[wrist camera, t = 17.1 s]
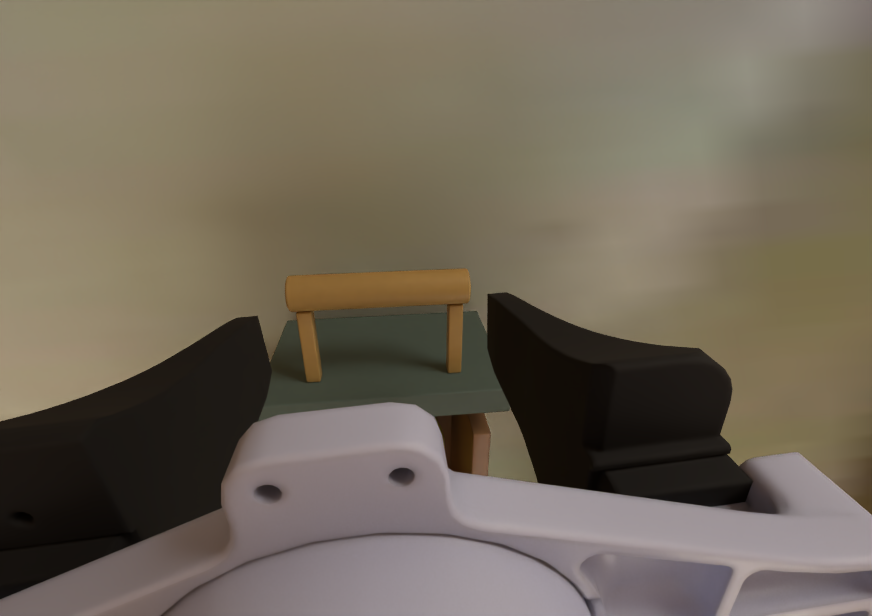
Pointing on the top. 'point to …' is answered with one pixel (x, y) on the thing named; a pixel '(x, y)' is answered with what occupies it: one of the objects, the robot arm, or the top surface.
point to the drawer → (390, 355)
